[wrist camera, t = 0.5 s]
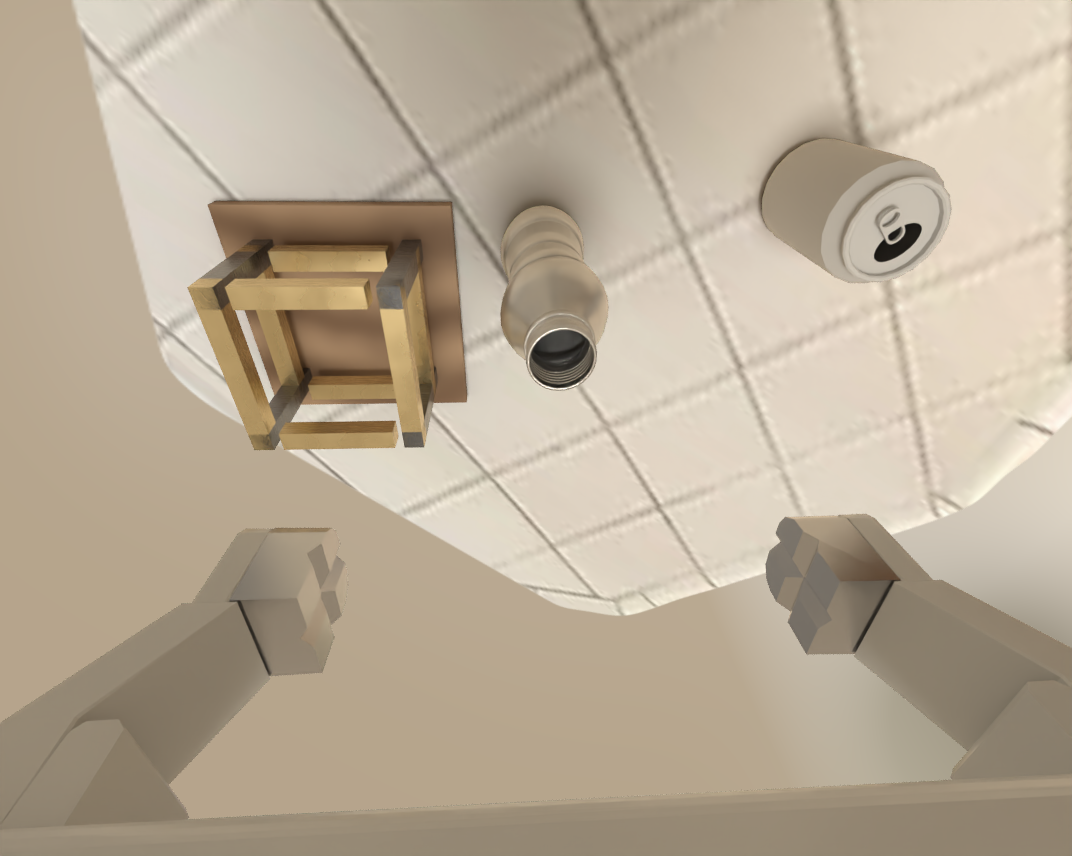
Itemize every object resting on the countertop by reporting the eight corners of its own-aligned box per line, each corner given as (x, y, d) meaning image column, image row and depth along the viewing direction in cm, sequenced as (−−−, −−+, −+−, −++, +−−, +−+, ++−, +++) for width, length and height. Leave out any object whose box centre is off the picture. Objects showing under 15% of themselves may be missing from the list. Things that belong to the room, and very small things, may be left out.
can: (782, 257, 43) (861, 315, 34) (740, 188, 40) (814, 231, 30) (868, 192, 40) (981, 236, 31) (830, 112, 37) (944, 133, 27)
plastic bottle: (488, 261, 42) (476, 389, 26) (522, 182, 39) (534, 274, 23) (555, 293, 44) (583, 430, 28) (594, 220, 41) (651, 330, 25)
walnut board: (215, 201, 39) (207, 204, 38) (451, 202, 39) (450, 205, 38) (282, 397, 49) (277, 404, 48) (467, 395, 50) (466, 402, 49)
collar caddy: (252, 239, 39) (187, 287, 31) (421, 239, 40) (399, 286, 32) (297, 382, 47) (254, 450, 39) (438, 380, 48) (424, 447, 40)
